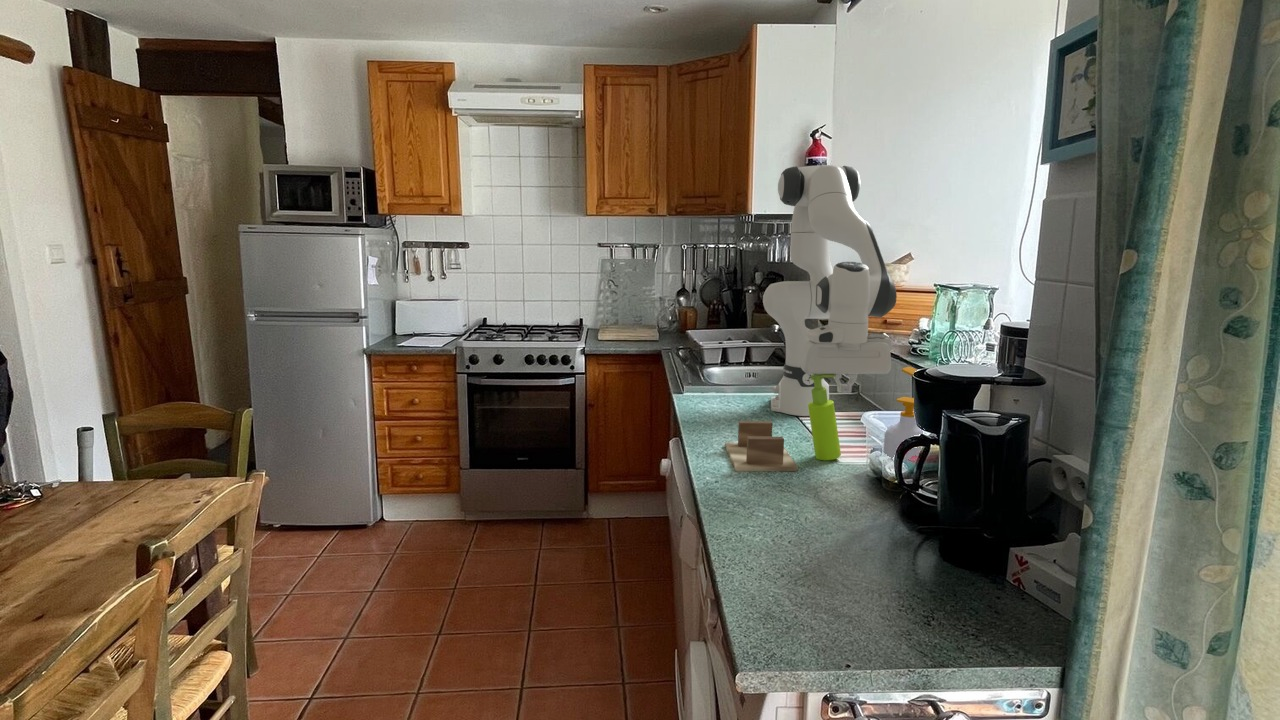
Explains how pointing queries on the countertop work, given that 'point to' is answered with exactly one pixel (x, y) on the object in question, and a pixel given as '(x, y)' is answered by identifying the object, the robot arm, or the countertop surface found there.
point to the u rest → (759, 449)
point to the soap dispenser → (823, 421)
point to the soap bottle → (903, 426)
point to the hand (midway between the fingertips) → (844, 392)
